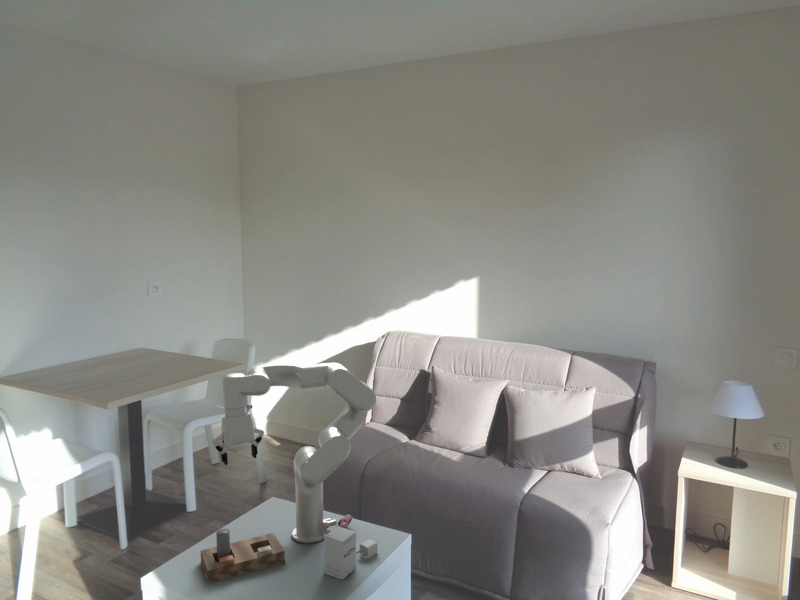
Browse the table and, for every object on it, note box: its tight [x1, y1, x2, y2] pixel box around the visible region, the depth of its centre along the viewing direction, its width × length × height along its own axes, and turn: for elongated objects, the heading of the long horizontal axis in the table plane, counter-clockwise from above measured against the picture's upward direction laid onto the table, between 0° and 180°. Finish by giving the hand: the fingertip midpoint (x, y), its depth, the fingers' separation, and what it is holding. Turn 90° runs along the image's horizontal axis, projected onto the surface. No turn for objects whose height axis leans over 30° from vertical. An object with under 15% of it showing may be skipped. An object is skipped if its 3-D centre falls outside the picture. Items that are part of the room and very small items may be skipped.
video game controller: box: [337, 513, 354, 530], centre depth 207 cm, size 10×5×7 cm, turn 170°
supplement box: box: [323, 525, 357, 580], centre depth 183 cm, size 7×7×13 cm
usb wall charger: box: [356, 538, 379, 559], centre depth 192 cm, size 4×7×4 cm, turn 137°
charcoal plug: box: [215, 528, 231, 562], centre depth 185 cm, size 4×4×12 cm
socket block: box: [200, 532, 286, 584], centre depth 188 cm, size 24×13×6 cm, turn 118°
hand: (240, 460), depth 195 cm, fingers open, 9 cm apart
